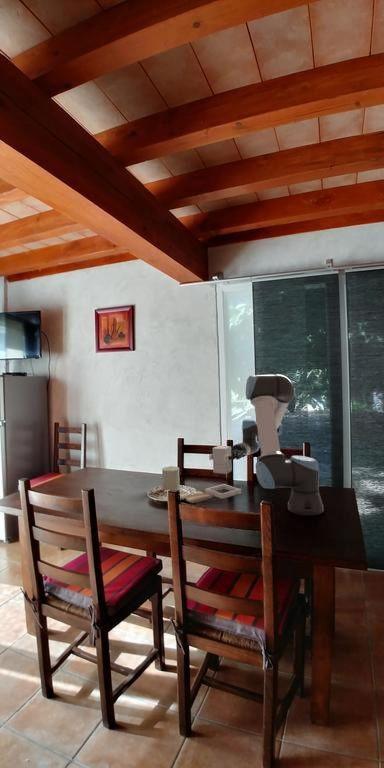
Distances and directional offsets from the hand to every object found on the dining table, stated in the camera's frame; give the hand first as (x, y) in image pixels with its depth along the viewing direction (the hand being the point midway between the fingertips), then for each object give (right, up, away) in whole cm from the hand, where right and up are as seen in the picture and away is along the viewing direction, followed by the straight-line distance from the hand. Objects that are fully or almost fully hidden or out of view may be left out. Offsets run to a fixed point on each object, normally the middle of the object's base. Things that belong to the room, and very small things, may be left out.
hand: (217, 458), depth 197 cm
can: (-23, -19, +12) cm, 32 cm away
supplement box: (+3, -8, +4) cm, 9 cm away
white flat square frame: (+3, -19, +4) cm, 19 cm away
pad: (-11, -19, -2) cm, 22 cm away
